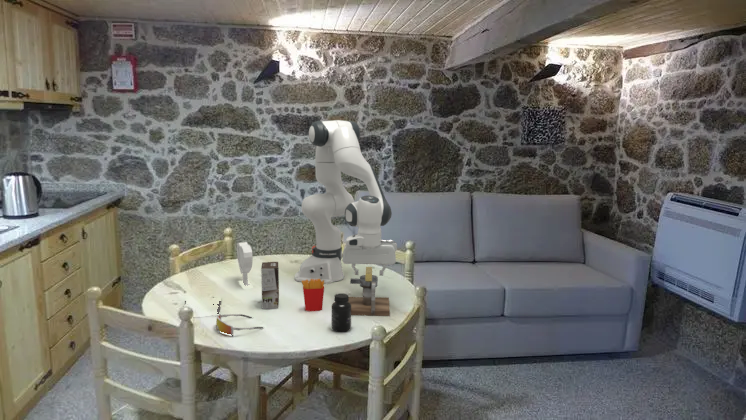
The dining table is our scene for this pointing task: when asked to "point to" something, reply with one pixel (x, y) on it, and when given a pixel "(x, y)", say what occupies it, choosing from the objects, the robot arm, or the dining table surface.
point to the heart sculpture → (244, 260)
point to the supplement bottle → (341, 313)
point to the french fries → (313, 294)
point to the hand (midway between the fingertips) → (368, 274)
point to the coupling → (365, 279)
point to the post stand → (369, 303)
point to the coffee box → (270, 285)
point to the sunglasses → (228, 328)
